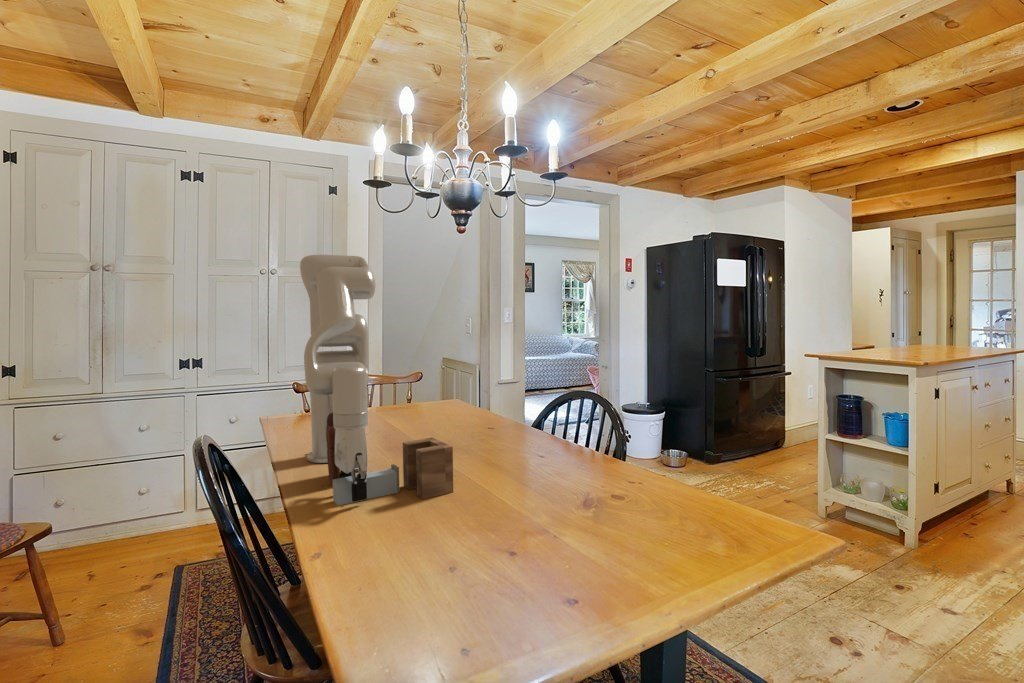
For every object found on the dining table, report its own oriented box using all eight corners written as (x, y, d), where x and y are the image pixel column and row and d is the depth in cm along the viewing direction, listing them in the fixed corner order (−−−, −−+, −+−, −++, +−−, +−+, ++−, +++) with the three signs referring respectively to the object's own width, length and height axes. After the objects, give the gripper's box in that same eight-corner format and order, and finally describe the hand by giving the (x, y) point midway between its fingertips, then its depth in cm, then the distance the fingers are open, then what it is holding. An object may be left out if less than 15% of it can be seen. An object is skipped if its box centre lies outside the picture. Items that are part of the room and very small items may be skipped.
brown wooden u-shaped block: (403, 486, 127) (402, 442, 127) (433, 479, 132) (432, 437, 131) (422, 499, 118) (421, 452, 118) (453, 492, 123) (452, 446, 122)
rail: (333, 500, 118) (332, 475, 118) (393, 487, 126) (393, 463, 126) (337, 505, 115) (336, 479, 115) (399, 492, 123) (399, 467, 123)
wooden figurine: (357, 484, 129) (355, 413, 128) (330, 488, 126) (328, 415, 125) (351, 471, 140) (349, 405, 139) (326, 474, 137) (324, 407, 136)
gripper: (323, 415, 123) (326, 487, 124) (345, 429, 108) (348, 509, 109) (355, 411, 127) (357, 481, 128) (380, 424, 113) (382, 501, 114)
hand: (353, 494), depth 119 cm, fingers open, 8 cm apart
